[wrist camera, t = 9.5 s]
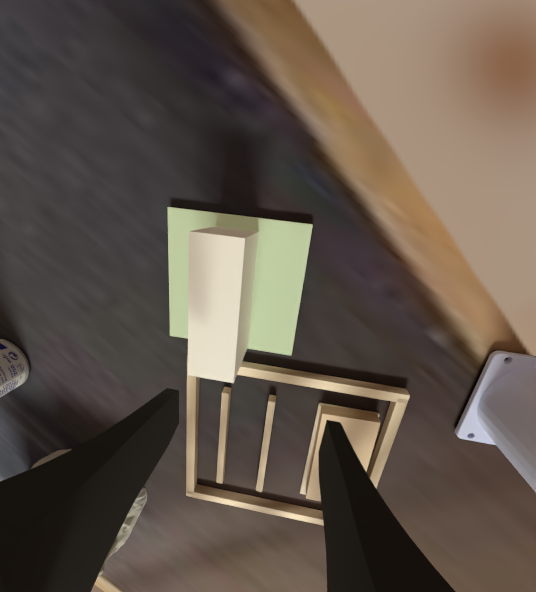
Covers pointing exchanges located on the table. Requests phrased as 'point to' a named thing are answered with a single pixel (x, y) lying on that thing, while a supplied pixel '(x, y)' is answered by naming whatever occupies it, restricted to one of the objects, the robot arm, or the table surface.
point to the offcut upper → (359, 433)
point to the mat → (267, 282)
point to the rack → (290, 376)
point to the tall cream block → (219, 300)
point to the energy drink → (12, 367)
